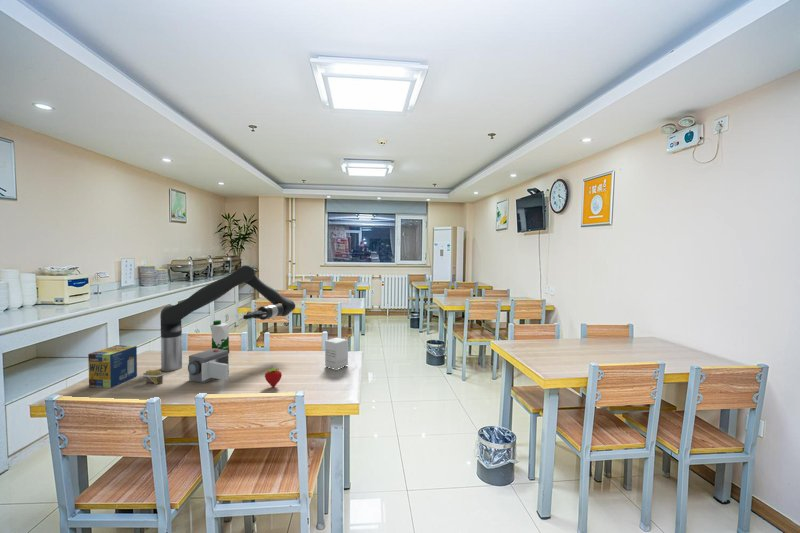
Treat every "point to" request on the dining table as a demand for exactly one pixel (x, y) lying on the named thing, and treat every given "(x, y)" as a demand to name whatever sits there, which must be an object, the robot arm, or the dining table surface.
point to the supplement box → (336, 353)
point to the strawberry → (273, 377)
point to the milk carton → (220, 335)
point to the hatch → (214, 370)
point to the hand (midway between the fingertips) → (244, 317)
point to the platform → (154, 376)
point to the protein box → (112, 366)
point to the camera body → (203, 357)
